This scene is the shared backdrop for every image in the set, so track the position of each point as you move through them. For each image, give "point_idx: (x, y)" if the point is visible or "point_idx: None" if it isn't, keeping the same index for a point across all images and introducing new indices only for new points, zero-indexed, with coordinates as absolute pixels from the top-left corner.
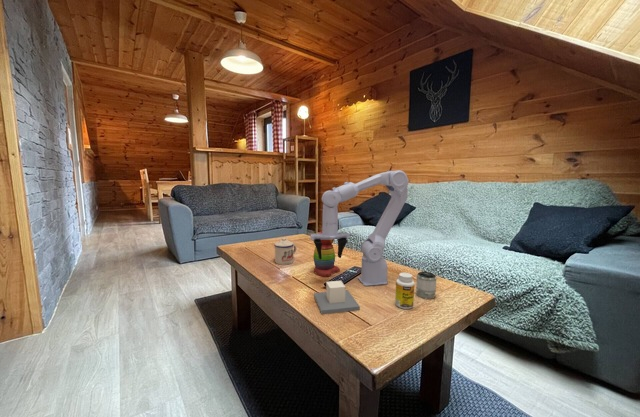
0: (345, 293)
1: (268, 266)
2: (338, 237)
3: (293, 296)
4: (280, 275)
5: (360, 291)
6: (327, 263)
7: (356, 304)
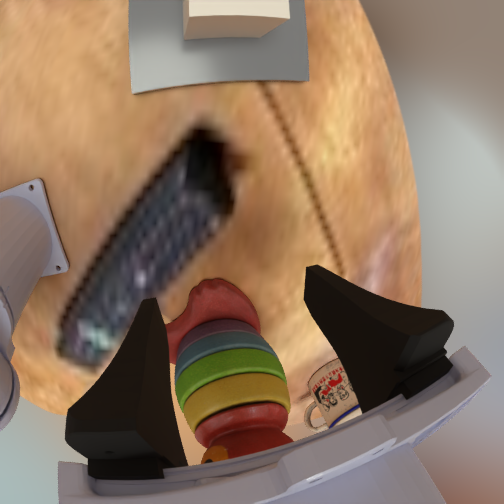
0: (154, 52)
1: None
2: (188, 482)
3: (372, 104)
4: (373, 284)
5: (68, 118)
6: (216, 338)
7: None
